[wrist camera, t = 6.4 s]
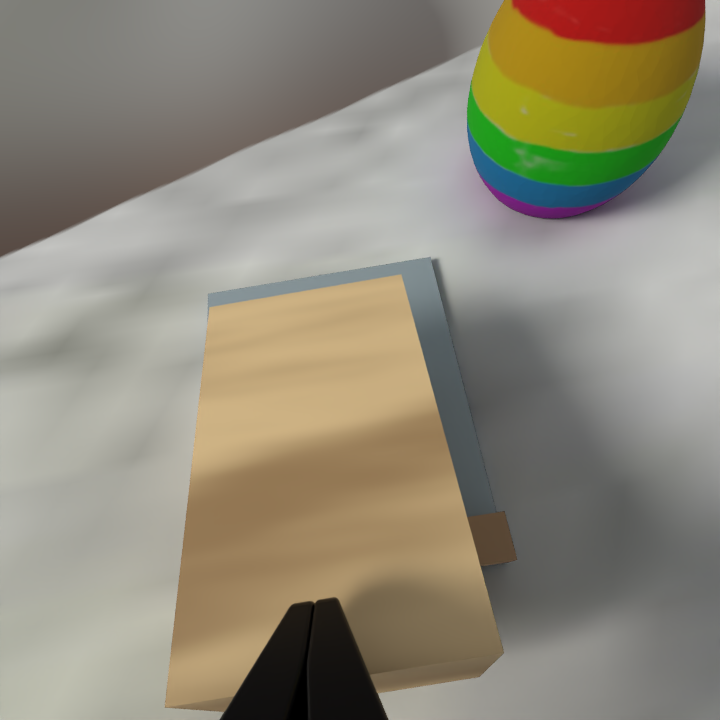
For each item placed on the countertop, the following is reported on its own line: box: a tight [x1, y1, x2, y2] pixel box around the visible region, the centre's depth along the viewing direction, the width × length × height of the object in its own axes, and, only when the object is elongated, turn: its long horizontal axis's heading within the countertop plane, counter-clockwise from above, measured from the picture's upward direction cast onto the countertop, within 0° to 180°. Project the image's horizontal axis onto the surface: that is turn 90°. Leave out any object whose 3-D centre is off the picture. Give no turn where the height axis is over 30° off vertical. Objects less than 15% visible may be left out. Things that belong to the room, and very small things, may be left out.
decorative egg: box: [467, 0, 705, 218], centre depth 18 cm, size 8×8×10 cm
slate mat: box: [208, 257, 517, 567], centre depth 17 cm, size 12×10×2 cm
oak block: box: [165, 274, 504, 712], centre depth 13 cm, size 5×6×10 cm
